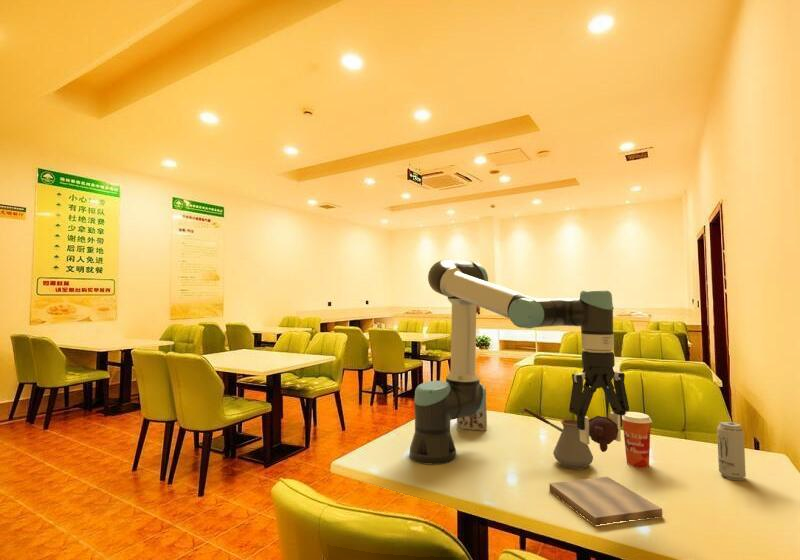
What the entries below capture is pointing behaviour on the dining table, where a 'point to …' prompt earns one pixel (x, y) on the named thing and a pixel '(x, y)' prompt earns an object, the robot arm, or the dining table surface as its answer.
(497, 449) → the dining table surface
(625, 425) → the coffee cup
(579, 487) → the serving board
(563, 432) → the coffee pot
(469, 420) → the decorative jar
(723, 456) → the energy drink can
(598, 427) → the icecream
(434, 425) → the robot arm
